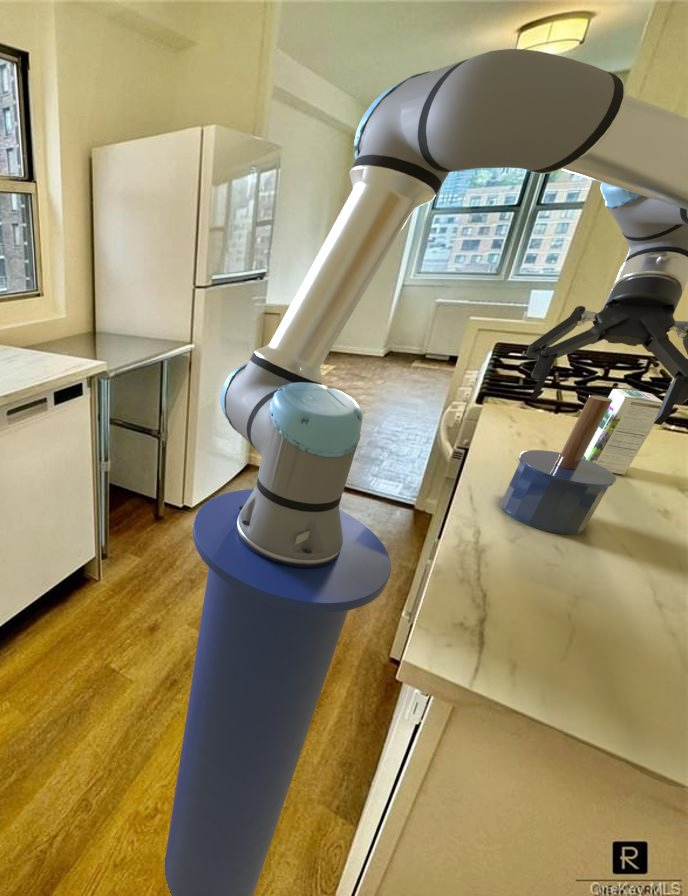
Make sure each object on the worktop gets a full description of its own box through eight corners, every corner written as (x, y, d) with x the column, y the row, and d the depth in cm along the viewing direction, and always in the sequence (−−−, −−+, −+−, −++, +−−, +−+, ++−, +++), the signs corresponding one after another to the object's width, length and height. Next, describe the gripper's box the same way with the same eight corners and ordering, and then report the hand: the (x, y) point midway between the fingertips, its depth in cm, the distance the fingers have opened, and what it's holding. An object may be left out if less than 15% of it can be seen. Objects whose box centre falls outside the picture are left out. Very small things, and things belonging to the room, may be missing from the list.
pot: (495, 514, 77) (516, 468, 74) (505, 491, 84) (526, 448, 80) (581, 543, 71) (609, 494, 67) (585, 515, 77) (611, 469, 74)
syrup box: (574, 456, 96) (610, 387, 89) (614, 463, 94) (654, 392, 87) (584, 468, 91) (623, 396, 85) (626, 475, 89) (669, 402, 82)
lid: (511, 471, 74) (546, 397, 68) (522, 449, 81) (553, 380, 75) (611, 499, 67) (658, 419, 61) (613, 472, 74) (655, 398, 68)
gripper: (545, 267, 79) (493, 374, 76) (793, 282, 63) (739, 419, 60) (536, 297, 85) (487, 398, 82) (761, 318, 69) (710, 444, 66)
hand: (594, 407), depth 71 cm, fingers open, 13 cm apart
